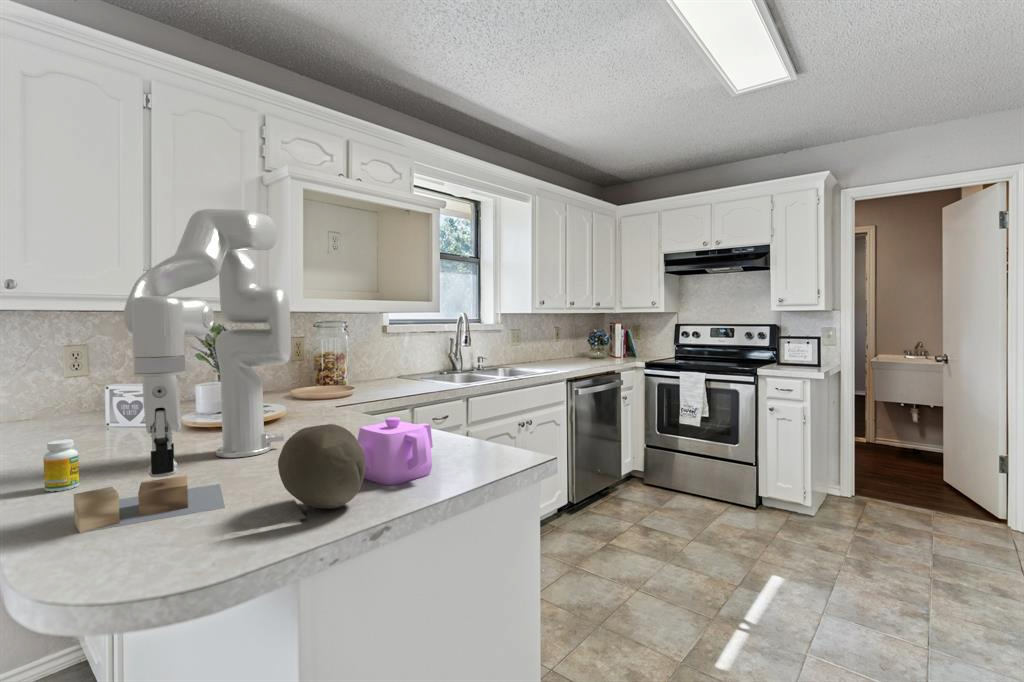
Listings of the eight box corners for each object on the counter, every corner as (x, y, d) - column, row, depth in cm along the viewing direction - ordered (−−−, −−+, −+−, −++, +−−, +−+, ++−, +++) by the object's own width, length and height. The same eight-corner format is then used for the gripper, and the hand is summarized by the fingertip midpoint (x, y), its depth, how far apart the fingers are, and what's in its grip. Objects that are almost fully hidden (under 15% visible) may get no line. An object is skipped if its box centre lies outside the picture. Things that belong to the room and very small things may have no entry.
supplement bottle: (50, 486, 107) (48, 440, 107) (83, 482, 109) (81, 437, 109) (40, 494, 102) (38, 445, 102) (75, 490, 105) (73, 442, 104)
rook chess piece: (155, 479, 89) (153, 433, 89) (143, 475, 92) (141, 430, 91) (183, 472, 93) (181, 428, 93) (170, 469, 95) (169, 425, 95)
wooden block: (187, 496, 97) (187, 475, 97) (188, 507, 91) (187, 485, 91) (141, 503, 94) (141, 482, 94) (139, 516, 88) (138, 492, 88)
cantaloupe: (344, 490, 103) (342, 414, 102) (379, 508, 92) (378, 424, 92) (269, 508, 93) (266, 425, 92) (299, 531, 83) (297, 437, 82)
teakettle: (428, 485, 106) (427, 424, 105) (343, 487, 105) (342, 426, 104) (436, 462, 123) (435, 410, 122) (363, 464, 122) (362, 411, 121)
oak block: (113, 515, 88) (111, 486, 88) (119, 523, 85) (118, 493, 84) (74, 524, 84) (73, 494, 84) (80, 532, 81) (78, 501, 81)
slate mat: (219, 487, 105) (219, 483, 105) (225, 512, 91) (225, 507, 91) (93, 507, 94) (93, 503, 94) (78, 538, 81) (78, 533, 81)
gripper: (185, 368, 87) (188, 477, 87) (184, 362, 101) (187, 456, 101) (129, 371, 83) (133, 485, 83) (137, 364, 97) (140, 462, 97)
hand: (163, 468), depth 92 cm, fingers closed on rook chess piece, 4 cm apart
